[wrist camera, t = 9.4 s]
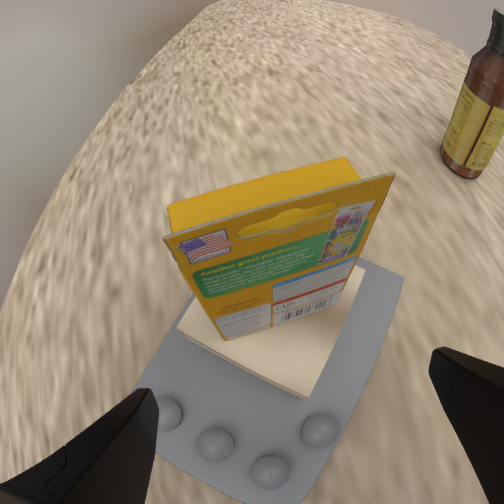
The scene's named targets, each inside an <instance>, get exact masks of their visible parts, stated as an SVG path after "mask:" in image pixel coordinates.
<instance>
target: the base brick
mask: <svg viewBox="0 0 504 504" xmlns="http://www.w3.org/2000/svg"><path fill="white" fill-rule="evenodd" d="M364 273H365V269H363V268H361V267H358V266H356V265H355V266H354V269H353V271H352V273H351V275H350V277H349V279H348V281H347V283H346V285H345V287H344V290H343V292H342V294H341V296H340V298H339V300H338V302H337V303H336V305H334V306H331V307H328V308H325V309H323V310H320V311H317V312H314V313H312V314H309V315H306V316H303V317H301V318H298V319H295V320H292V321H289V322H286V323H282V324H279V325H276V326H273V327H269V328H267V329H263V330H260V331H257V332H254V333H251V334H248V335H245V336H241V337H238V338H235V339H232V340H229V341H224V340H223V339H222V337H221V336H220V334H219V333H218V331H217V329H216V328H215V326H214V325H213V323H212V322H211V320H210V318H209V317H208V315H207V314H206V312H205V311H204V309H203V308H202V306H201V304H200V303H199V301H198V299H197V298H196V297H195V298H194V300H193V302H192V303H191V305H190V306H189V308H188V309H187V311H186V313H185V314H184V316H183V317H182V319H181V321H180V322H179V324H178V325H177V327H176V328H177V329H178V330H179V331H180V332H181V333H182V334H183V335H184V336H185V337H187V338H188V339H189V340H191V341H193V342H194V343H196V344H198V345H199V346H201V347H203V348H205V349H206V350H208V351H210V352H212V353H214V354H215V355H217V356H219V357H221V358H223V359H224V360H226V361H228V362H230V363H232V364H234V365H235V366H237V367H239V368H241V369H243V370H245V371H247V372H249V373H251V374H253V375H255V376H256V377H258V378H260V379H262V380H264V381H266V382H268V383H270V384H272V385H274V386H277V387H279V388H281V389H283V390H285V391H287V392H289V393H291V394H293V395H295V396H298V397H300V398H302V399H305V398H309V396H310V394H311V392H312V390H313V388H314V386H315V384H316V382H317V380H318V378H319V376H320V374H321V372H322V370H323V368H324V366H325V364H326V362H327V360H328V357H329V355H330V353H331V351H332V349H333V347H334V345H335V342H336V340H337V338H338V336H339V333H340V331H341V329H342V327H343V324H344V322H345V320H346V317H347V315H348V313H349V310H350V308H351V306H352V303H353V301H354V298H355V296H356V293H357V291H358V288H359V286H360V283H361V281H362V278H363V275H364Z"/></svg>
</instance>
